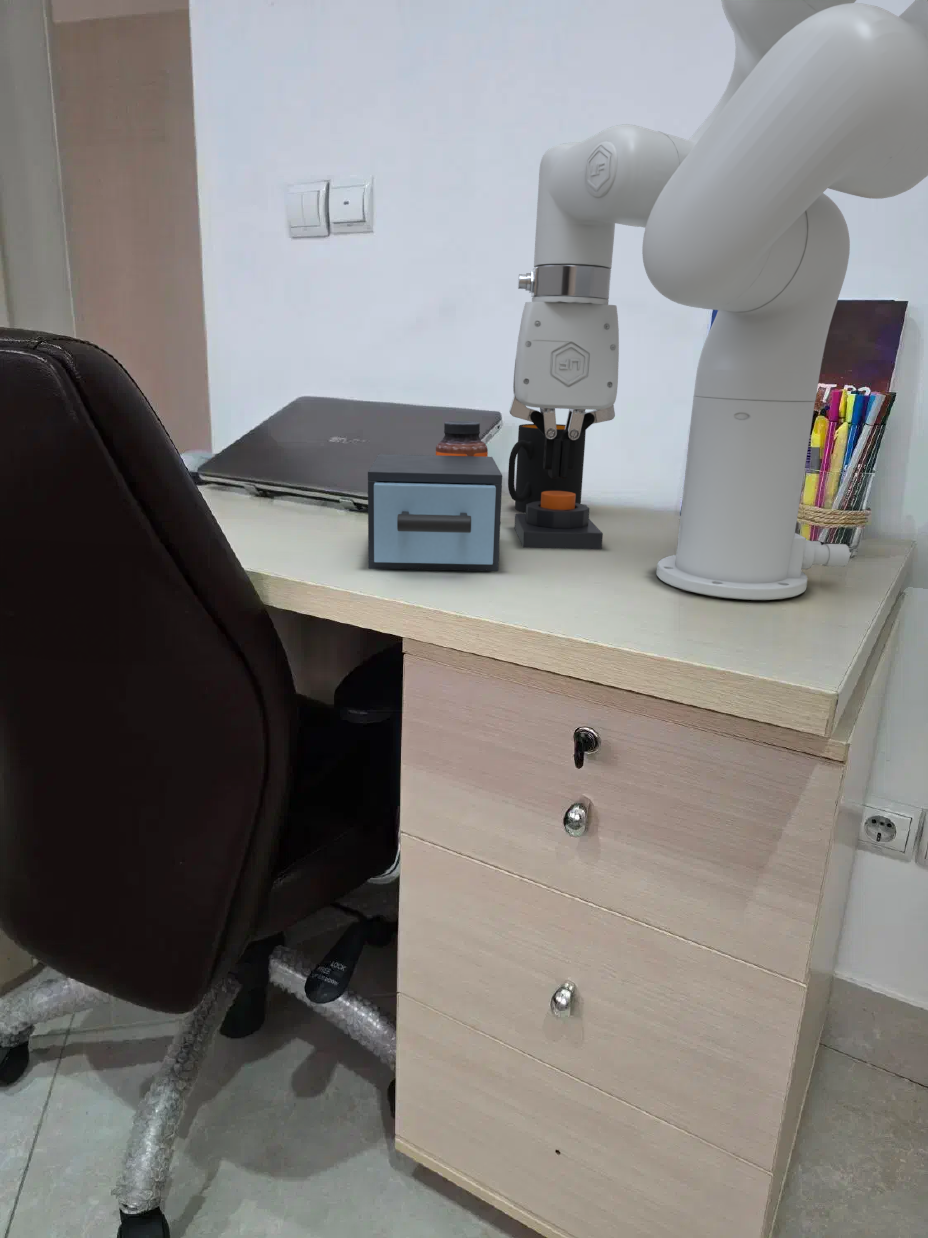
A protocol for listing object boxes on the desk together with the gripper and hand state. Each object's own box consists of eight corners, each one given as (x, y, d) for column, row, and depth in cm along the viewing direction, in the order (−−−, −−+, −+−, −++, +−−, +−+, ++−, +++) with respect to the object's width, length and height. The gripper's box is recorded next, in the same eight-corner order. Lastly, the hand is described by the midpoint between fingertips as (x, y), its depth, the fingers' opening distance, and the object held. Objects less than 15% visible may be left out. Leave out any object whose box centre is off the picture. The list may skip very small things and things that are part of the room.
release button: (571, 507, 89) (572, 491, 89) (577, 513, 86) (578, 496, 85) (538, 506, 89) (539, 490, 89) (542, 512, 86) (543, 495, 85)
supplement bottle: (487, 518, 98) (491, 420, 95) (484, 528, 93) (487, 424, 89) (437, 516, 99) (439, 418, 95) (431, 525, 93) (432, 422, 90)
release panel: (584, 529, 93) (587, 499, 92) (601, 549, 84) (604, 515, 83) (514, 528, 93) (515, 497, 92) (523, 547, 83) (524, 513, 82)
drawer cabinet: (498, 571, 74) (502, 474, 71) (368, 568, 74) (367, 471, 71) (489, 539, 87) (492, 456, 84) (378, 537, 87) (378, 453, 84)
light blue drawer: (496, 577, 68) (499, 495, 66) (370, 574, 68) (369, 492, 66) (485, 535, 84) (487, 468, 82) (383, 533, 84) (382, 465, 82)
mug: (481, 512, 102) (484, 426, 99) (541, 502, 110) (546, 422, 107) (534, 522, 97) (539, 431, 94) (593, 510, 105) (599, 427, 102)
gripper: (497, 283, 77) (488, 480, 83) (655, 289, 78) (636, 484, 83) (492, 288, 84) (484, 469, 90) (637, 294, 85) (620, 474, 91)
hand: (557, 476), depth 87 cm, fingers closed
